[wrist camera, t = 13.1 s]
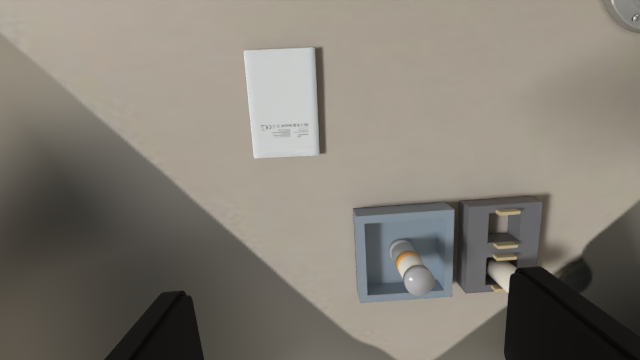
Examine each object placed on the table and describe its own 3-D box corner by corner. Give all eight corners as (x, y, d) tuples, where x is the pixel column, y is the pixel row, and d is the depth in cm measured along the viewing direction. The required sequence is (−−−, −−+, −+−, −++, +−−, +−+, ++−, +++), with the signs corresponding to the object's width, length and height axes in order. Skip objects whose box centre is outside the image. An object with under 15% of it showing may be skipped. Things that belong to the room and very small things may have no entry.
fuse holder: (529, 196, 40) (548, 204, 36) (521, 278, 42) (539, 293, 39) (459, 200, 40) (473, 209, 36) (457, 282, 42) (469, 297, 39)
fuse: (502, 249, 41) (545, 282, 34) (501, 270, 42) (542, 307, 34) (479, 251, 41) (516, 284, 34) (478, 272, 42) (514, 309, 34)
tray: (444, 202, 40) (454, 209, 37) (442, 283, 42) (451, 296, 40) (353, 208, 40) (355, 216, 37) (357, 289, 43) (360, 302, 40)
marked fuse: (412, 237, 40) (434, 268, 33) (412, 259, 41) (434, 294, 33) (388, 239, 40) (405, 270, 33) (389, 261, 41) (405, 296, 33)
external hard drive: (315, 49, 36) (319, 153, 39) (246, 52, 36) (255, 156, 39) (315, 46, 34) (319, 155, 37) (242, 50, 34) (253, 158, 37)
